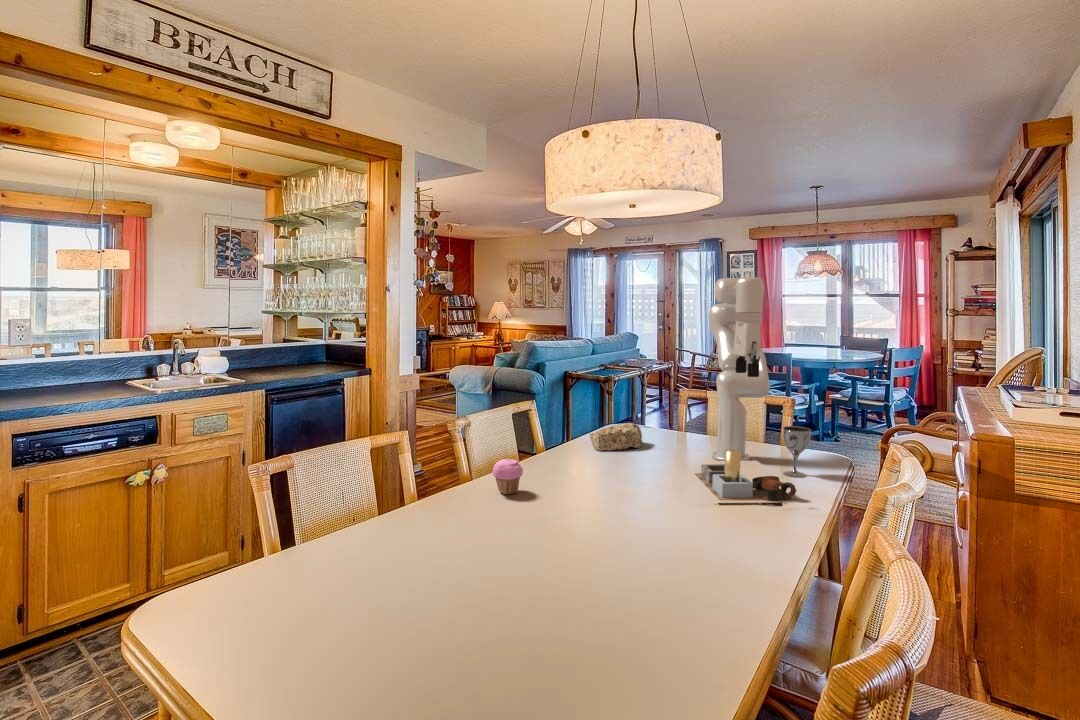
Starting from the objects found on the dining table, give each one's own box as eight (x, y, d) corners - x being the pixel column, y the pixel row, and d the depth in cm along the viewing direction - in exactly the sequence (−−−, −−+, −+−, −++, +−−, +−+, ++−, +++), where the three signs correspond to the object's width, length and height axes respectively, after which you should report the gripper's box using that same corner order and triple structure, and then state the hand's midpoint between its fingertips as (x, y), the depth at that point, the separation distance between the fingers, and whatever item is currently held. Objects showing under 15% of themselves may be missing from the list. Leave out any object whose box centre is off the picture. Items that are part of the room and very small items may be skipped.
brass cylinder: (722, 490, 160) (723, 449, 159) (736, 489, 161) (737, 449, 159) (727, 494, 156) (728, 453, 155) (741, 494, 157) (742, 452, 155)
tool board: (694, 478, 176) (694, 462, 176) (728, 477, 176) (729, 462, 176) (719, 505, 152) (720, 487, 152) (759, 505, 153) (760, 487, 152)
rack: (712, 487, 162) (712, 474, 162) (741, 487, 163) (741, 474, 162) (722, 497, 154) (722, 483, 154) (752, 497, 154) (752, 483, 154)
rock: (599, 456, 206) (594, 429, 207) (587, 455, 220) (583, 429, 221) (650, 446, 211) (645, 420, 212) (635, 446, 225) (631, 421, 226)
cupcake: (527, 494, 162) (527, 460, 161) (500, 499, 158) (500, 465, 157) (514, 485, 170) (513, 453, 169) (487, 490, 165) (487, 457, 164)
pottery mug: (750, 506, 153) (745, 476, 157) (757, 511, 160) (752, 483, 164) (796, 502, 147) (791, 471, 151) (802, 508, 155) (796, 478, 158)
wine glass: (793, 479, 175) (795, 432, 173) (776, 471, 183) (777, 426, 181) (814, 476, 177) (816, 430, 176) (796, 469, 185) (798, 425, 183)
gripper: (726, 318, 177) (724, 371, 179) (747, 319, 160) (745, 378, 162) (749, 317, 177) (748, 371, 179) (773, 319, 160) (771, 378, 162)
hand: (746, 374), depth 170 cm, fingers open, 9 cm apart
